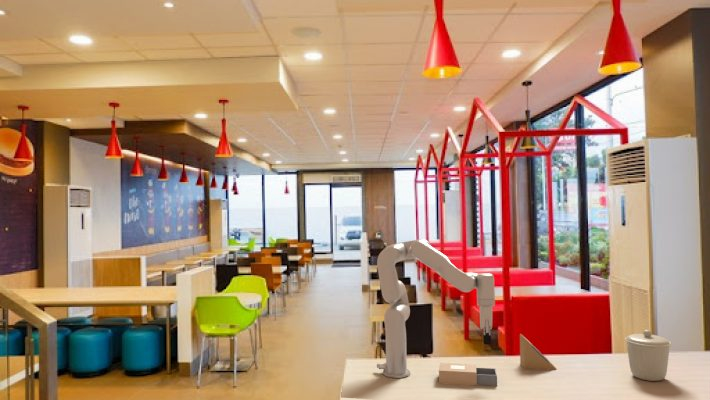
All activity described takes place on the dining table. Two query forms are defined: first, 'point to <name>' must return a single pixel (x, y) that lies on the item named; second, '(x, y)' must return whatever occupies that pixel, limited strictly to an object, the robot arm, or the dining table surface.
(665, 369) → the canister
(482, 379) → the tray
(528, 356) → the sandwich container
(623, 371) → the dining table surface
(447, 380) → the mailer sleeve
